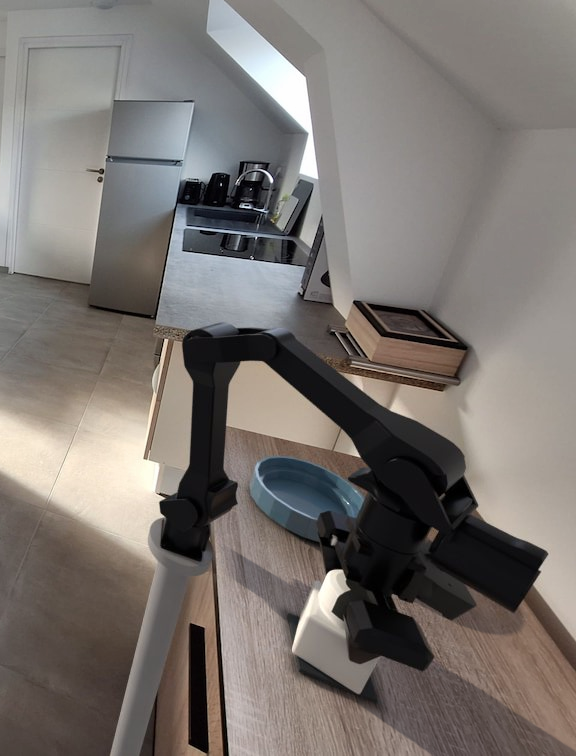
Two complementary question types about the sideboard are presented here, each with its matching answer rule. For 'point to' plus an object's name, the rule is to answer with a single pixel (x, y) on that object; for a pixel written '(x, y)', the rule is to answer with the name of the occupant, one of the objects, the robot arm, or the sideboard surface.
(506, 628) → the sideboard surface
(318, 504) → the blue saucer dish
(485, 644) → the sideboard surface
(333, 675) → the medicine bottle
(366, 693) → the coaster
